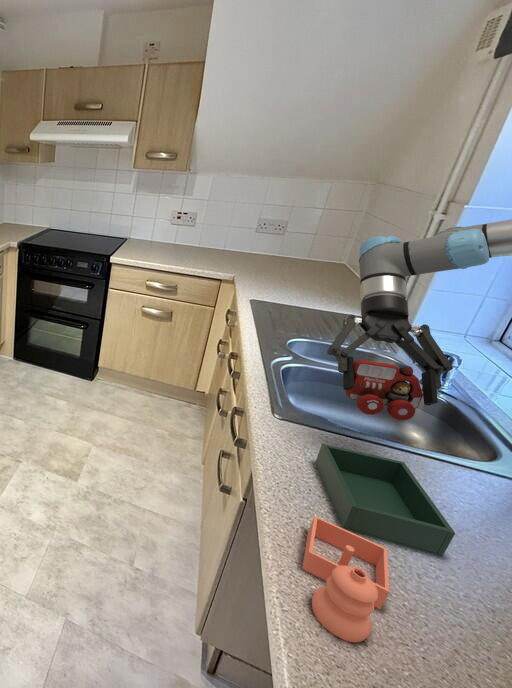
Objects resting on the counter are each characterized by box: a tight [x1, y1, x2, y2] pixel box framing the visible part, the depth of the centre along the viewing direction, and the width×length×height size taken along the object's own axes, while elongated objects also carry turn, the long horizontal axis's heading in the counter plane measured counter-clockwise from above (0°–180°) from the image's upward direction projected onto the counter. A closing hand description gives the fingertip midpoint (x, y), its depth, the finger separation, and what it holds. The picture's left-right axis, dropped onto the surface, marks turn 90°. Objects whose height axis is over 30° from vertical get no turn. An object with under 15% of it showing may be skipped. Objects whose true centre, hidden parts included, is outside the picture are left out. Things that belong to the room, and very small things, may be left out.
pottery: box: [301, 515, 390, 643], centre depth 61 cm, size 18×10×10 cm, turn 140°
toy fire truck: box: [345, 359, 423, 421], centre depth 84 cm, size 7×12×10 cm, turn 71°
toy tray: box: [314, 443, 456, 557], centre depth 77 cm, size 14×18×6 cm
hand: (388, 396), depth 83 cm, fingers closed on toy fire truck, 12 cm apart
